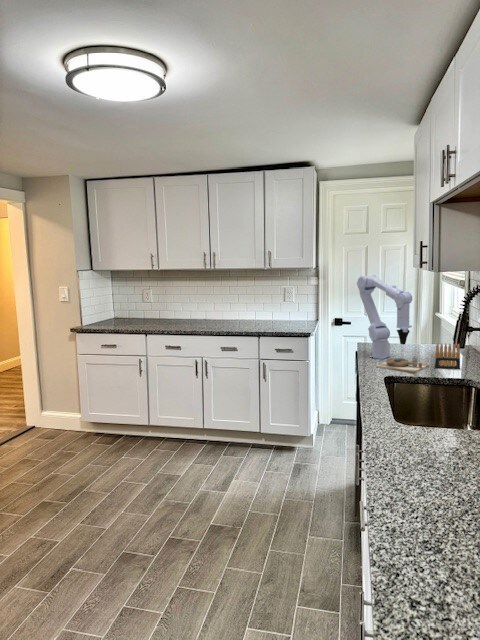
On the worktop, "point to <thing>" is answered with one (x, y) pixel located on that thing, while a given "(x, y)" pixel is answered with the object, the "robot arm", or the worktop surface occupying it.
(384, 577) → the worktop surface
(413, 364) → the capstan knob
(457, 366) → the ammunition clip
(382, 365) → the board
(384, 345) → the robot arm
